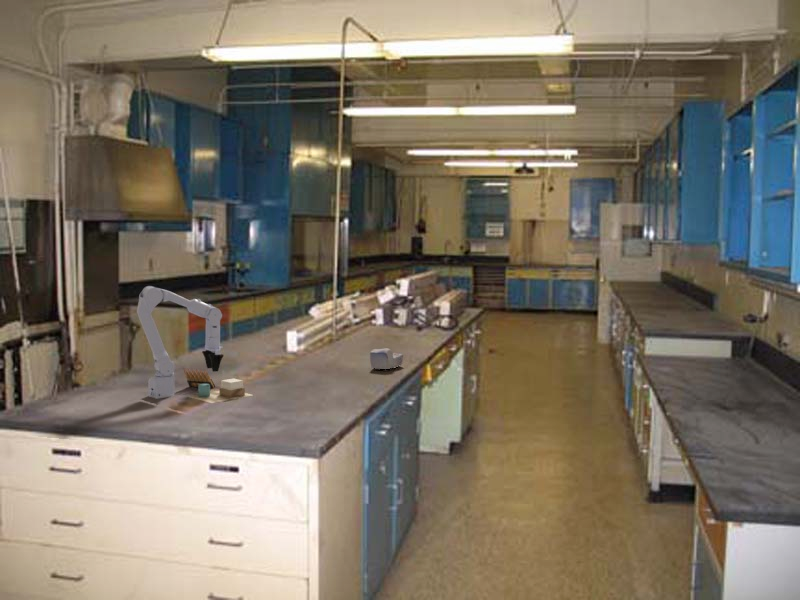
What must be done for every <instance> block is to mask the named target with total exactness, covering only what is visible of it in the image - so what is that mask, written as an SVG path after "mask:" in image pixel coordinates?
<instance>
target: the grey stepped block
mask: <svg viewBox="0 0 800 600" xmlns="http://www.w3.org/2000/svg"><path fill="white" fill-rule="evenodd" d="M403 358H404V354H403V353H397V352H393V350H392V349H390V348H387V347H385V348H378V349H377V348H373V349H372V350H371V351H369V362H370V367H371V369H372V368H375V369H374V370H380V369H390V368H394V367H397V366H399V365H401V366H402V364H403V360H404V359H403ZM390 370H391V369H390Z"/></svg>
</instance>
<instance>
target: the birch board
mask: <svg viewBox="0 0 800 600" xmlns="http://www.w3.org/2000/svg"><path fill="white" fill-rule="evenodd" d="M251 396H253V394H251V393H247V392H245V395H244V396H239V397H234V398H228V397H224V396H220V395H219V390H216V391H210V397H199V396H198V394H192V395H188V398H190V399H191V398H192V399H196V400H199V401H202V402H207V403H210V404H214V403H220V402H225V401H231V400H236V399H241V398H248V397H251Z"/></svg>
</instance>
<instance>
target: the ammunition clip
mask: <svg viewBox="0 0 800 600" xmlns="http://www.w3.org/2000/svg"><path fill="white" fill-rule="evenodd" d="M183 373H184V375H185V376H184V377H185V378H186V382H187V384H188V386H189V388H198V385H199V384H210V389H215V388H216V385H215V383H214V382H213V381H214V380H212V378H211V377H210V375H209V374H208V371H207V370H206V369H203V370H202V369H199V370H198V369H195V370H194V369H193V368H192V369H190V368H187V370H186V369H185V368H183Z"/></svg>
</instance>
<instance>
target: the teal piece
mask: <svg viewBox="0 0 800 600" xmlns="http://www.w3.org/2000/svg"><path fill="white" fill-rule="evenodd" d="M197 388H198V389H197V390H198V394H197V395H198V396H199V397H210V392H211V388H210V384H199V385H198V387H197Z"/></svg>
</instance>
